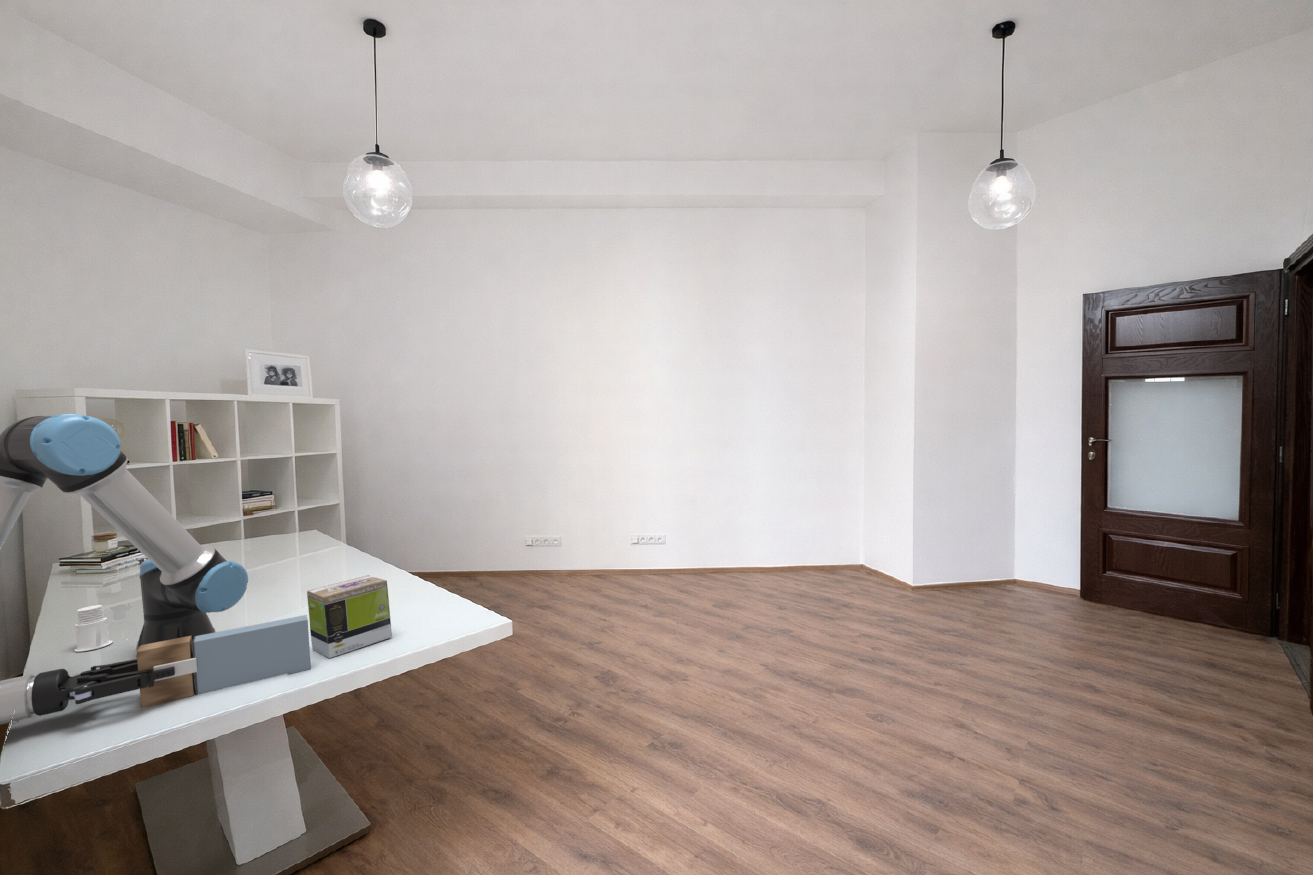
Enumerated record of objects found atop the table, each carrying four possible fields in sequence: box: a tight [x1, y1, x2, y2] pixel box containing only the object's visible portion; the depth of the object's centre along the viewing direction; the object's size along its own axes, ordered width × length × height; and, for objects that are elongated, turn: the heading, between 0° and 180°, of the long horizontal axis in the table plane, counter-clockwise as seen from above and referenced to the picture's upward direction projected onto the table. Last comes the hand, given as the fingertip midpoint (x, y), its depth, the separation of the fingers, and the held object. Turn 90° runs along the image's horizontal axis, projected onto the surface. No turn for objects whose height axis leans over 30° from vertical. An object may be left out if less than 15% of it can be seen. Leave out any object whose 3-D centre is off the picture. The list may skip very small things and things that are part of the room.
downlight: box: [73, 604, 114, 653], centre depth 148 cm, size 8×7×10 cm
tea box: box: [306, 574, 393, 659], centre depth 143 cm, size 15×10×15 cm, turn 141°
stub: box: [136, 636, 196, 709], centre depth 118 cm, size 8×4×11 cm, turn 124°
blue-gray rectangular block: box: [192, 614, 312, 696], centre depth 126 cm, size 20×4×11 cm, turn 124°
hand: (197, 660), depth 121 cm, fingers closed on blue-gray rectangular block, 4 cm apart
